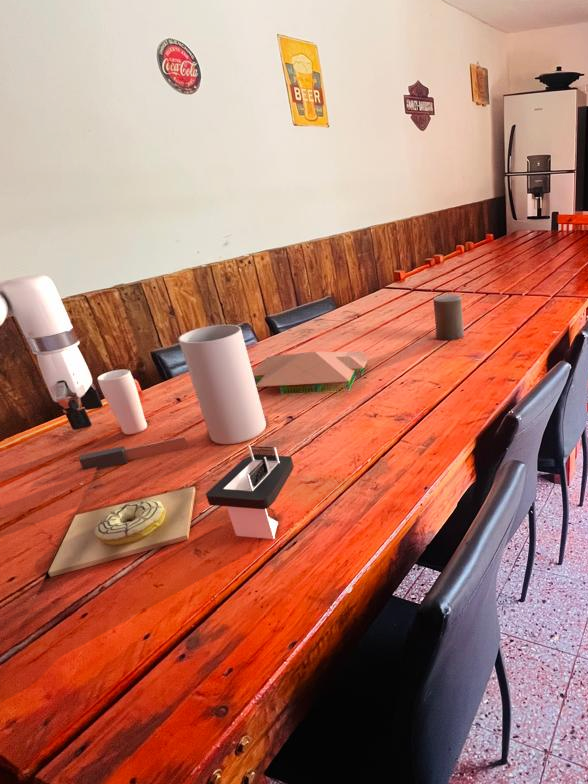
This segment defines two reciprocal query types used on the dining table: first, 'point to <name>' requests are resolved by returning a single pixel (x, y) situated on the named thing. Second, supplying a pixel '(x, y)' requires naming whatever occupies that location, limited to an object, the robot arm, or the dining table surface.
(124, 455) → the knife
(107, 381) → the white mug
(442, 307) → the pillar candle
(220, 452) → the dining table surface
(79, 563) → the cutting board
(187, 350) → the cylinder vase
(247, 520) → the black-topped pedestal
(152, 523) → the decorated donut
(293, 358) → the house
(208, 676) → the dining table surface
